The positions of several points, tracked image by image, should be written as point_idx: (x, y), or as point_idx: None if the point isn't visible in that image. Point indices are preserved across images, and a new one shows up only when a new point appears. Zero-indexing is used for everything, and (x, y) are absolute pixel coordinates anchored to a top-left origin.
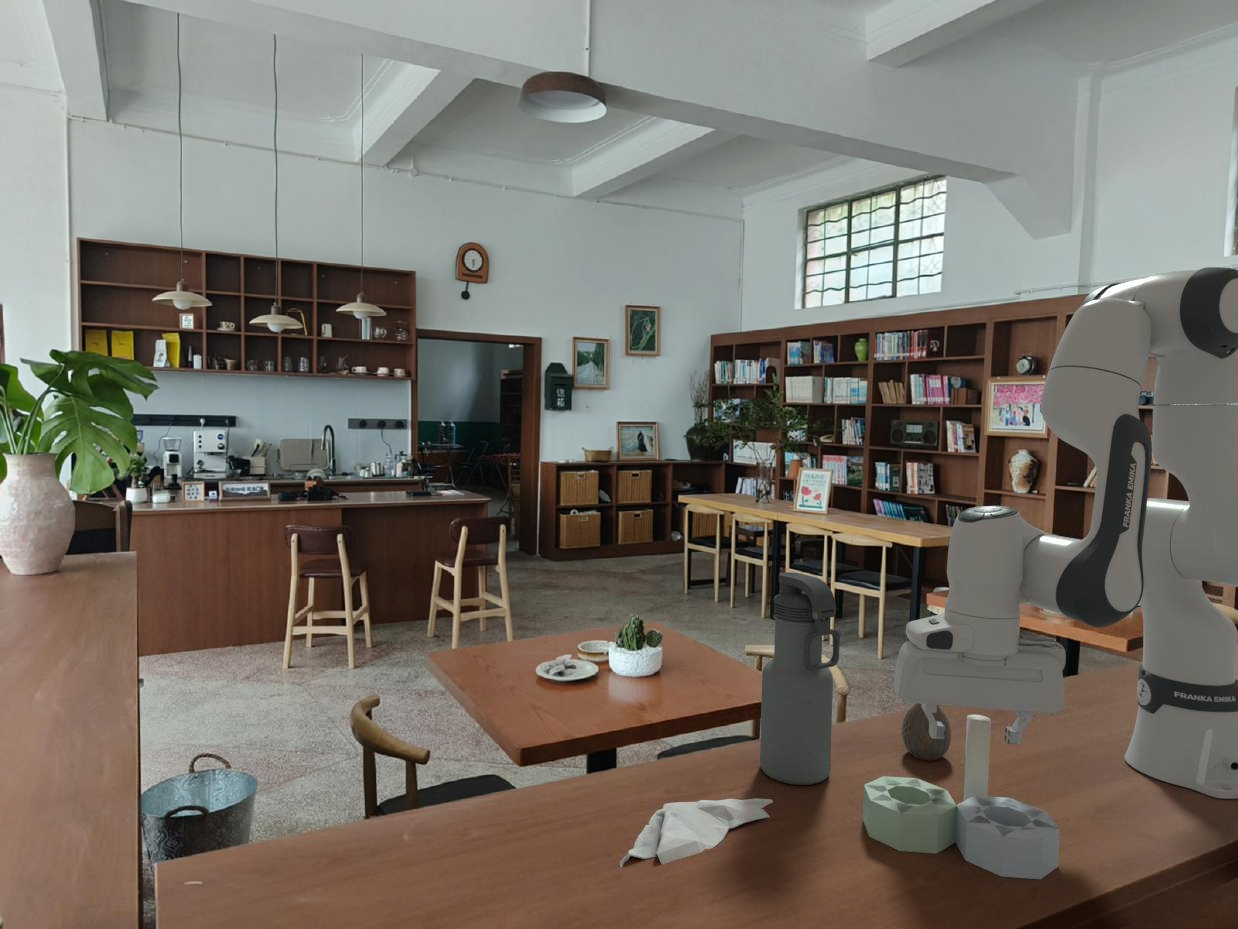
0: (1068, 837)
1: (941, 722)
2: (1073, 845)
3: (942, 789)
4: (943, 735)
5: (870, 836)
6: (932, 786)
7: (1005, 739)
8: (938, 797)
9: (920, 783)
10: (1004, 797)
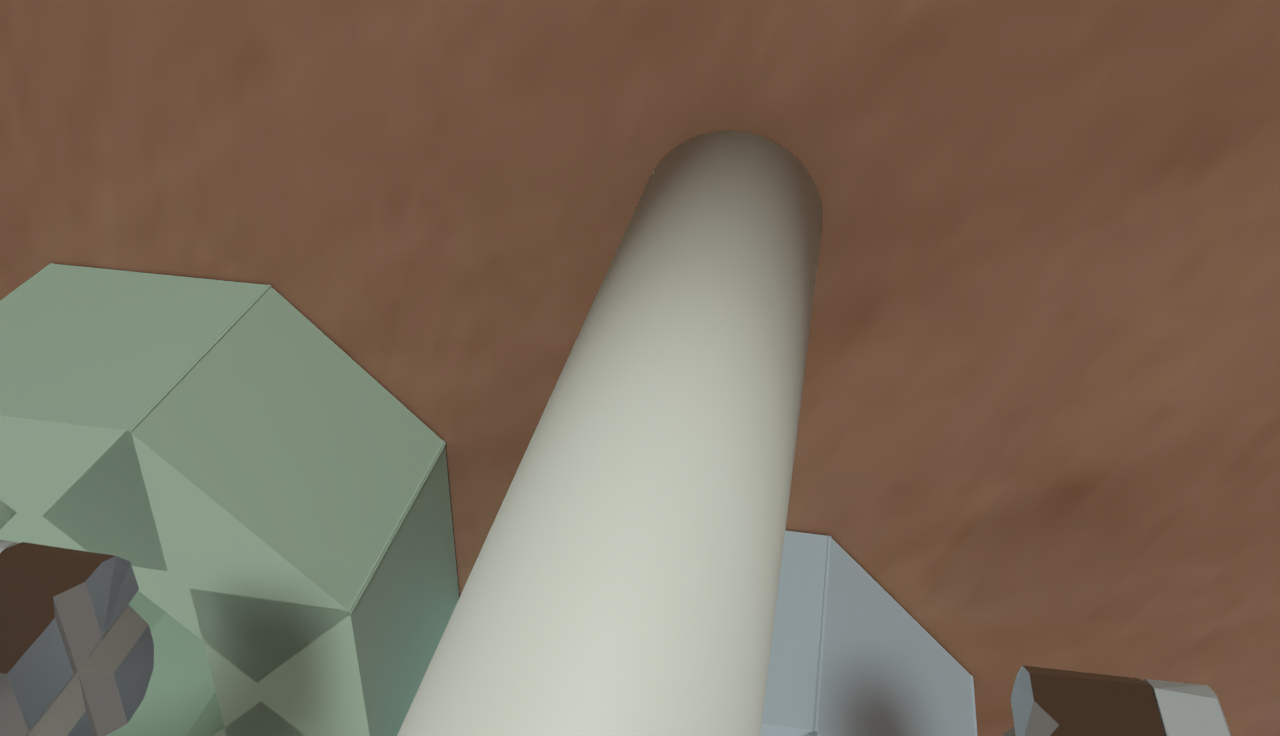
0: (1251, 574)
1: (13, 700)
2: (1208, 654)
3: (317, 601)
4: (120, 719)
5: None
6: (246, 557)
7: (1022, 681)
8: (273, 700)
9: (157, 512)
10: (771, 727)
